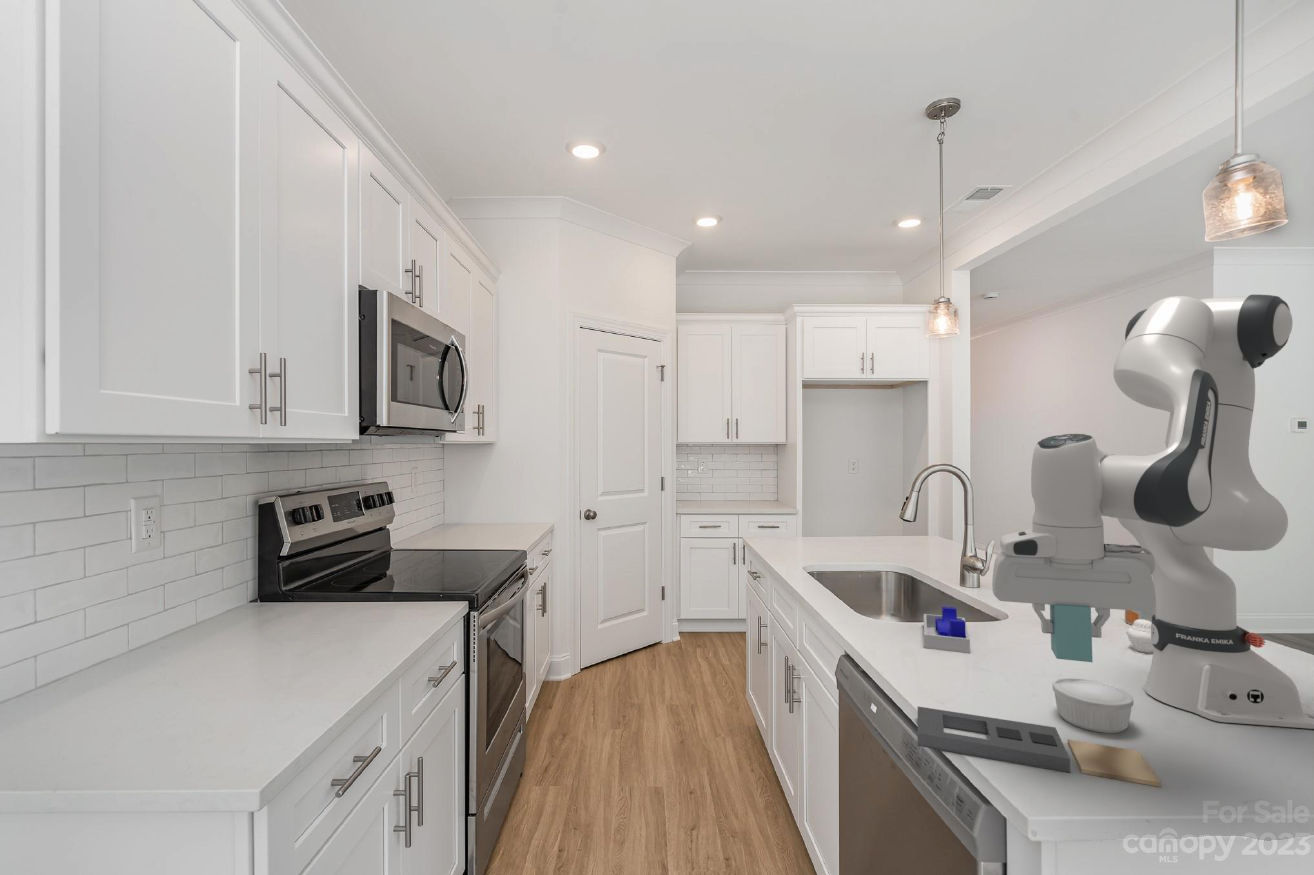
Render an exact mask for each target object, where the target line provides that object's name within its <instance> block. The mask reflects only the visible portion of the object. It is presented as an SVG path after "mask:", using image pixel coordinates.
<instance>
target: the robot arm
mask: <svg viewBox="0 0 1314 875" xmlns="http://www.w3.org/2000/svg"><path fill="white" fill-rule="evenodd" d="M1290 309H1291V308H1290V306H1289V304H1288V303H1287V301H1285V300H1283V299H1282V298H1281V297H1280V296H1278V295H1270V294H1250V295H1248V296H1223V297H1222V296H1221V297H1208V298H1201V299H1198V298H1195V297H1193V296H1186V295H1174V296H1167V297H1165V298H1161V299H1159V300H1157V301H1155V302H1154V303H1151V305H1149V307H1148V308H1146V309H1144V310H1141V311H1139V312H1137V313H1136V314H1135V315H1134V316H1133V317H1132V318H1131V319H1130V320H1128V321H1129V322H1128V323H1127V325H1126V329H1125V335H1124V340H1125V341H1124V342H1123V345H1122V347H1121V348H1120V351H1119V353H1118V355H1117V357H1116V360H1115V363H1114V366H1113V378H1114V382H1115V384H1116V386H1117V387H1118V388H1119V390H1120V391H1121V392H1122V393H1123V394H1124V395H1125V396H1126V397H1128V398H1129V399H1131V400H1132V401H1134V402H1136V403H1138V404H1140V405H1142V406H1144V407H1148V408H1153V409H1157V410H1161V411H1166V412H1169V419H1168V425H1167V429H1166V437H1165V441H1164V442H1165V447H1166V448H1165V449H1164V450H1163V451H1160V452H1157V453H1153V454H1148V455H1147V454H1146V455H1140V454H1139V455H1137V454H1134V455H1133V454H1132V455H1131V454H1113V453H1111V454H1109V453H1108V452H1105V451H1103V450H1101V449H1100V448H1098V446H1097V442H1096V440H1095V437H1093V436H1092V435H1089V434H1086V433H1085V434H1084V433H1067V434H1065V433H1064V434H1059V435H1057V434H1056V435H1052V436H1048V437H1045V438H1042V439H1041V440H1039V441H1038V442H1037V443H1035V447H1034V449H1033V450H1034V451H1033V454H1032V460H1031V469H1030V470H1031V476H1030V488H1031V489H1030V490H1031V491H1030V492H1031V496H1032V498H1033V502H1034V512H1033V515H1032V519H1031V520H1032V521H1031V522H1032V527H1031V528H1028V529H1024V530H1020V531H1015V532H1011V533H1008V534H1003V535H1002V536H1001V537H1000V539H999V545H1000V549H1001V550H1002V551H1000V552H999V553H998V554H997V555H996V557H995V560H994V565H993V571H992V579H991V580H992V581H991V582H992V583H991V584H992V586H991V587H992V594H993V595H994V596H995V598H996V599H997V600H998V601H1000V602H1005V603H1006V602H1009V603H1021V604H1022V603H1023V604H1031V606H1032V607H1031V608H1032V609H1033V611H1034V612H1035V614H1036V615H1037V617H1038V618H1039V619H1040V622H1041V624H1040V628H1041V632H1042V634H1050V635H1051V634H1054V629H1053V628H1054V622H1053V621H1052V620H1050V619H1048V618H1046V616H1045V615H1044V614H1043V613H1042V612H1045V611H1046V605H1049V606H1050V605H1054V604H1062V605H1076V606H1090V607H1091V609H1092V608H1093V609H1094V610H1095V612H1096V613H1097V616H1096V617H1095V619H1093V622H1091V630H1092V638H1095V639H1101V638H1102V628H1103V627H1104V626H1105V624H1106V622H1107V621H1108V620H1109V619H1110V618H1111V610H1120V611H1125V610H1134V611H1151V610H1152V609H1153V608H1154V607H1155V614H1154V615H1152V624H1151V640H1152V645H1153V646H1154V650H1153V653H1152V659H1151V664H1150V670H1149V673H1148V677H1147V680H1146V683H1145V685H1144V688H1143V689H1144V691H1145V692H1146V693H1147V694H1148V695H1149V696H1151V697H1152V698H1154V699H1156V700H1157V701H1159V702H1162V703H1164V704H1167V705H1170V706H1172V707H1176V708H1178V709H1181V710H1184V711H1188V712H1191V713H1194V714H1196V715H1198V716H1201V717H1203V718H1206V719H1209V720H1211V721H1215V722H1219V723H1227V724H1228V723H1231V724H1243V725H1245V724H1246V725H1258V726H1271V727H1282V728H1283V727H1284V728H1298V729H1299V728H1300V729H1311V730H1314V710H1313V709H1312V708H1310V707H1309V706H1307V705H1305V703H1303V702H1302V701H1301V700H1302V699H1301V696H1300V694H1299V690H1298V687H1297V685H1296V683H1294V681H1293V680H1292V678H1291V677H1290V676H1288V674H1286V673H1285V672H1284V671H1283V670H1281V669H1279V668H1278V667H1277V666H1275V665H1274V664H1273V663H1271V662H1270V661H1268V659H1265V658H1264V657H1263V656H1261V655H1260V654H1258V653H1257V652H1256V651H1255V650H1252V649H1251V646H1253V647H1254V648H1257V649H1258V648H1263V647H1264V646H1265V645H1266V640H1265V639H1264V638H1263V636H1261V635H1259V634H1257V633H1255V632H1250V631H1248V630H1246V629H1244V628H1242V627H1241V626H1238V625H1237V624H1238V623H1237V622H1238V621H1237V588H1236V585H1235V583H1234V581H1233V579H1232V578H1231V577H1230V575H1228V574H1227V573H1226V572H1224V571H1223V570H1222V569H1220V568H1219V567H1217V566H1216V565H1215V564H1214V563H1213V562H1212V560H1211V559H1210V558H1209V556H1208V554H1207V552H1206V550H1205V548H1211V549H1219V550H1223V551H1232V552H1236V551H1237V552H1251V551H1252V552H1254V551H1256V552H1257V551H1259V552H1260V551H1268V550H1270V549H1272V548H1274V547H1275V546H1277V545H1278V544H1279V543H1280V542H1281V541H1282V540H1283V539H1284V538H1285V536H1286V533H1287V531H1288V528H1289V518H1288V514H1287V513H1288V512H1287V511H1286V509H1285V507H1284V506H1283V504H1282V503H1281V501H1279V499H1278V498H1276V497H1275V496H1274V495H1272V494H1271V493H1270V492H1268V491H1267V490H1266V489H1265V488H1264V487H1263V486H1262V485H1261V483H1260V481H1259V480H1257V477H1256V475H1255V474H1254V472H1253V469H1252V465H1251V462H1250V457H1249V452H1250V451H1249V450H1250V449H1249V448H1250V438H1251V430H1252V429H1251V428H1252V421H1253V414H1254V407H1255V399H1256V398H1255V397H1256V374H1255V369H1257V368H1259V367H1261V366H1262V365H1264V363H1265V361H1266V360H1269V359H1270V358H1273V357H1274V356H1276V355H1277V354H1278V353H1279V352H1280V351H1281V350H1282V349H1283V348H1284V347H1285V346H1286V344H1287V343H1288V341H1289V338H1290V335H1291V333H1292V330H1293V323H1294V322H1293V316H1292V313H1291V310H1290ZM1102 517H1109V518H1112V519H1114V518H1115V519H1117V521H1118V522H1119V524H1120V525H1121V526H1122V527H1123V528H1124V529H1125V530H1126V531H1127V532H1129V533H1130V534H1131V535H1132V536H1133V537H1134V539H1135V540H1136V541H1137V543H1138V545H1137V544H1129V545H1125V544H1118V543H1117V544H1116V543H1105V536H1104V535H1105V534H1104V533H1105V532H1104V520H1103V518H1102ZM1204 547H1205V548H1204Z"/></svg>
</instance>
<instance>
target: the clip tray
mask: <svg viewBox="0 0 1314 875" xmlns="http://www.w3.org/2000/svg"><path fill="white" fill-rule="evenodd" d="M935 618H937V619H942V614H941V615H940V614H928V613H923V637H924V638H923V642H924V643H923V645H924V647H923V648H925V649H931V650H932V649H933V650H939V651H940V650H941V651H948V652H957V653H966V654H967V653H968V654H970V653H971V639H970V636H969V635H970V634H969V631H968V628H967V627H968V626H967V623H966V619H965V617H960V616H957V620H964V621H965V632H966V638H958V637H949V636H940V635H938V634H929V633H928V628H935V629H936V619H935Z"/></svg>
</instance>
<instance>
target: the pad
mask: <svg viewBox="0 0 1314 875" xmlns="http://www.w3.org/2000/svg"><path fill="white" fill-rule="evenodd" d="M1066 742H1067V746H1068V747H1069V749H1070V752H1071V753H1072V756H1073V758H1074V760H1075V762H1076V764H1077V766H1078V768H1079V770H1080V772H1081V774H1085V775H1091V776H1095V777H1101V778H1102V777H1103V778H1108V779H1114V780H1119V781H1124V782H1130V783H1134V784H1135V783H1137V784H1142V785H1147V786H1152V787H1153V786H1154V787H1159V788H1161V787H1162V784H1161V781H1160V780H1159V778H1158V777H1157V775H1156V773H1155V772H1154V771H1153V769H1152V767H1150V765H1149V764H1148V762H1147V760H1146V759H1145V758H1144V756H1143V754H1141V752H1140V751H1139V750H1137V749H1130V748H1124V747H1118V746H1110V745H1105V744H1100V743H1099V744H1098V743H1093V742H1084V741H1080V740H1074V739H1073V740H1072V739H1067V741H1066Z"/></svg>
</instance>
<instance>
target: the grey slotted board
mask: <svg viewBox="0 0 1314 875" xmlns="http://www.w3.org/2000/svg"><path fill="white" fill-rule="evenodd" d="M945 728H947V729H948V728H950V729H955V730H960V731H965V732H966V731H967V732H974V733H979V734H986V737H987V738H980V737H976V736H975V737H974V736H968V735H962V734H956V733H951V732H945ZM917 747H923V748H928V749H934V750H939V751H944V752H951V753H956V754H960V755H961V754H962V755H968V756H972V757H979V758H985V759H990V760H996V761H1002V762H1007V763H1013V764H1019V765H1024V766H1031V767H1034V768H1035V767H1036V768H1041V769H1048V770H1053V771H1059V772H1063V773H1064V772H1065V773H1069V774H1070V773H1071V758H1070V756H1069V753H1068V751H1067V749H1066V747H1065V745H1064V743H1063V741H1062V739H1061V736H1060V735H1059V732H1058V730H1057V728H1056V727H1054V726H1048V725H1042V724H1035V723H1031V722H1030V723H1029V722H1024V721H1023V722H1021V721H1017V720H1010V719H1009V720H1008V719H1002V718H997V717H996V718H995V717H990V716H982V715H975V714H970V713H963V712H956V711H950V710H944V709H943V710H942V709H937V708H929V707H923V706H917Z"/></svg>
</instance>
